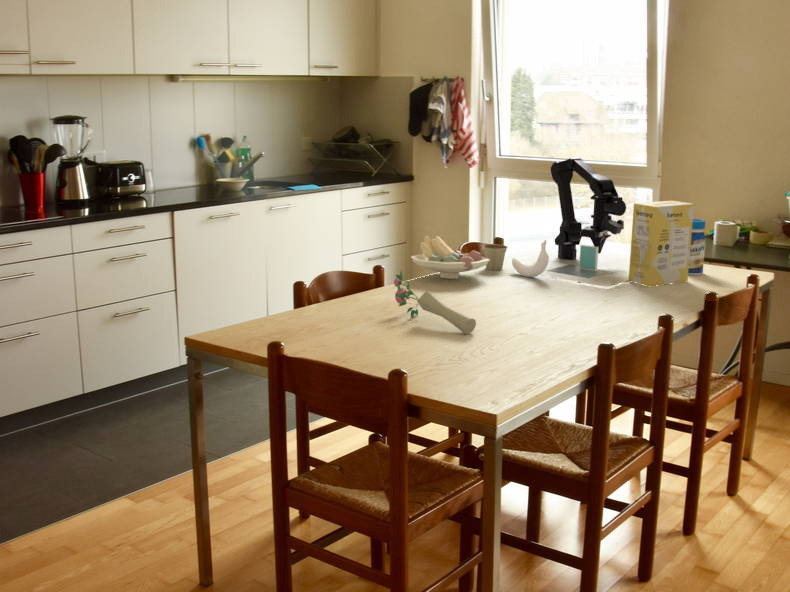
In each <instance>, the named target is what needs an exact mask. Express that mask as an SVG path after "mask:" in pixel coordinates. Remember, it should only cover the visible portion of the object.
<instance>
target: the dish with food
mask: <svg viewBox="0 0 790 592" xmlns="http://www.w3.org/2000/svg"><path fill="white" fill-rule="evenodd" d="M423 240H424V242H420V245H419V246H420V249H421V252H422V253H420V254H415V255H411V257H410V258H411V259H412V262H413V263H415V264H416V265H418V266H420V267H421V268H424V269H426V270H428V271H433V272H437V273H439V277H440V278H442V279H451V280H452V279H459V278H460V273H465V272H470V271H473V270H474V271H475V270H478V269H480V268H483V267H486V265H487V263H488V262H489V259H487V258H485V256H482V253H481V252H479V251H477V250H471V251H470V252H468V253H460V252H456V251H455V250H453V249H452V248H451V247H450V246H448V244H447V243H446V242H445V241H444V240H443V239H442V238H441V237H440V236H438V235H435V237H434V238H432V239H431V238H430V237H429V236H428V235H425V236H424V238H423Z"/></svg>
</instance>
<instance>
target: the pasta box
mask: <svg viewBox="0 0 790 592" xmlns="http://www.w3.org/2000/svg"><path fill="white" fill-rule="evenodd" d="M694 208H695V203H692V202H684V201H678V200H671V199H670V200H661V201H649V202H647V201H646V202H635V203H633V213H632V225H631V226H632V228H631V240H630V241H631V243H630V256H629V268H628V269H629V270H628V282H629V281H633V282H637V283H640V284H644V285H647V286H646V287H648V286H655V287H657V286H656V285H662V284H669V285H671V284H670V283H676V284H678V283H677V282H683V283H686V282H685V281H687V282H688V279H689V275H688V269H689V258H690V246H691V234H692V223H693V219H694ZM633 282H632V283H633ZM637 283H636V284H637ZM640 284H639V285H640ZM644 285H643V286H644ZM662 286H663V285H662Z"/></svg>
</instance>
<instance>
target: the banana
mask: <svg viewBox="0 0 790 592" xmlns="http://www.w3.org/2000/svg"><path fill="white" fill-rule="evenodd" d="M540 246H541V249H540V253H539V254H538V257H537V260H536V261H535V262H534V263H533V264H526V263H525V262H524V261H522V260H521V259H519V258H518V257H513V258H512V260H511V263H512V266H513V267H512V268H514V270H515V271H516V272H517V273H518V274H519V275H521V276H523V277H526V278H527V277H528V278H535V277H539V276H540V275H542V274H543V273H544V272H545V271H546V270H547V267H548V265H549V261H550V260H549V254H548V252H547V250H546V246H547V239H545V240H544V241H542V243H541V244H540Z"/></svg>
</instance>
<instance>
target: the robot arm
mask: <svg viewBox="0 0 790 592" xmlns="http://www.w3.org/2000/svg"><path fill="white" fill-rule="evenodd" d="M574 172H575V173H576V174H577V175H578V176H580V177H581V178H582V179H583V180H585V182H586V183H587V184H588V187H589V189H590V190H591V192H592V193H593V195H592V196H590V200H593V201H594V202H593V213H592V214H590V218H592V225H590V226H589V227H586V228H583V227H582V222H581V221H580V222H579V221H577V218H576V215H575V208H574V201H573V195H572V186H571V182H572V180H573V178H574ZM550 173H551V177H552V180H553V181H554V182H555V184H556V185H557V190H558V197H559V204H560V211H561V218H562V221H561V223H560V226H559V233H558V234H557V236H556V237H555V238H554V244H555V246H558V248H557V257H556V258H555V260H557V259H561V260H565V261H566V260H567V261H569V260H570V261H574V260H576V259H577V252H578V251H577V246H579V245H581V243H580V242H581V240H582V237H584V238H590V241H591V243H592V246H596V247H598V254H601V253H602V251H603V247H604V245H605V243H606V241H607V239H608V238H610V237H611V236H612V235H617V234H621V232H622V230H624V229H625V224H624V223H625V222H624V221H625V220H622V219H618V220H613V219H612V217H613V216H617V217H622V216H623V215H624V214H625V213H626V211H627V205H626V202H625V201H624V200H623V197H622V196H619V194H618V191H617V189H616V187H615V185H614V181H613V180H612V179H611V178H609V177H607V176H605V175H601V174H599V173H598V172H596V171H595V170H594V169H593V168H592V167H590V166H589V165H588V164H587V163H586V162H585V161H583V159H582V158H581V157H570V158H567V159H565V160H563V161H555V162H553V163H552V165H551V166H550ZM609 233H611V234H609Z"/></svg>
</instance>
